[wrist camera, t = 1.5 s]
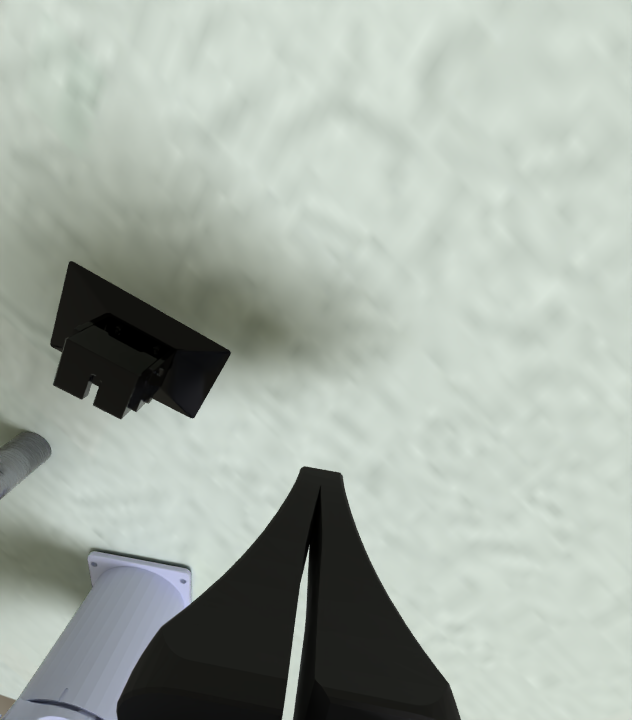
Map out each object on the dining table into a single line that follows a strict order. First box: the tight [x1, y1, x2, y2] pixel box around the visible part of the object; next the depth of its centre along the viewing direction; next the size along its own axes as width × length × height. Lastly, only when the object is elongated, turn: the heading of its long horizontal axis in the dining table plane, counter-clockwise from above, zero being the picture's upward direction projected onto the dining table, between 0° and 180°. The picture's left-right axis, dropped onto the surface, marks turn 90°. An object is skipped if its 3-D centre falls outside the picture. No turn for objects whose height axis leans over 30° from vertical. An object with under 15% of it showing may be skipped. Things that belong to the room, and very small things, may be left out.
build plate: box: [50, 261, 231, 419], centre depth 20 cm, size 12×7×5 cm, turn 60°
